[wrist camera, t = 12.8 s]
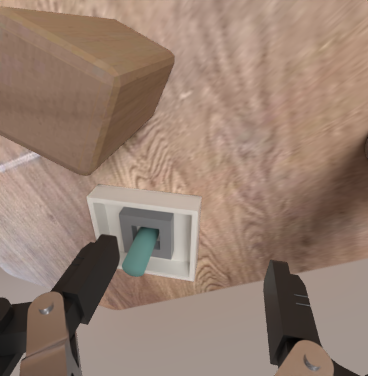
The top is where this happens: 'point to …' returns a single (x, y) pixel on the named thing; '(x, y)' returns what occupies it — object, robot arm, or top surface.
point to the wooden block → (76, 84)
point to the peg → (140, 251)
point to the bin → (150, 225)
